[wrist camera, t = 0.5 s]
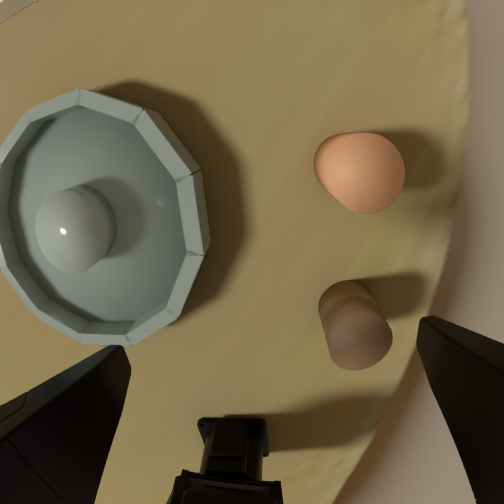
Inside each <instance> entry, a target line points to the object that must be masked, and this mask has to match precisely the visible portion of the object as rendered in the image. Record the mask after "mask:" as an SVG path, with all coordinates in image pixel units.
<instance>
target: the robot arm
mask: <svg viewBox="0 0 504 504" xmlns="http://www.w3.org/2000/svg"><path fill="white" fill-rule="evenodd" d="M416 344H417V349H418V352H419V354H420V357H421V360H422V363H423V366H424V369H425V372H426V375H427V378H428V381H429V384H430V387H431V389H432V391H433V393H434V396H435V398H436V400H437V402H438V405H439V407H440V409H441V411H442V414H443V416H444V418H445V420H446V423H447V425H448V428H449V430H450V432H451V435H452V437H453V440H454V442H455V445H456V447H457V450H458V452H459V455H460V458H461V460H462V462H463V465H464V468H465V471H466V474H467V476H468V479H469V482H470V485H471V488H472V491H473V494H474V497H475V499H476V504H504V344H503V343H500V342H498V341H495V340H493V339H491V338H488V337H486V336H483V335H481V334H478V333H476V332H473V331H471V330H468V329H466V328H464V327H461V326H459V325H456V324H454V323H451V322H449V321H446V320H444V319H441V318H439V317H436V316H433V315H431V316H426V317H422V318H421V319H420V322H419V328H418V334H417V341H416ZM130 376H131V365H130V363H129V360H128V357H127V355H126V352H125V350H124V348H123V346H121V345H108V346H107V347H105V348H103V349H101V350H100V351H98V352H96V353H94V354H93V355H91V356H89V357H87V358H86V359H84V360H82V361H80V362H79V363H77V364H75V365H73V366H72V367H70V368H68V369H66V370H64V371H63V372H61V373H59V374H57V375H56V376H54V377H52V378H50V379H48V380H47V381H45V382H43V383H41V384H40V385H38V386H36V387H34V388H32V389H31V390H29V391H28V392H25V393H23V394H22V395H20V396H18V397H16V398H14V399H12V400H10V401H9V402H7V403H5V404H3V405H1V406H0V504H94V502H95V499H96V495H97V491H98V488H99V484H100V481H101V478H102V474H103V471H104V467H105V464H106V461H107V458H108V454H109V451H110V448H111V445H112V442H113V439H114V436H115V432H116V429H117V426H118V423H119V420H120V417H121V414H122V411H123V407H124V402H125V398H126V393H127V389H128V385H129V380H130ZM197 425H198V428H199V431H200V434H201V437H202V439H203V442H204V445H205V446H204V452H203V457H202V462H201V467H200V473H195V472H190V471H189V470H184V469H183V470H182V473H181V476H177V477H176V478H175V482H174V486H173V490H172V492H171V495H170V497H169V499H168V501H167V503H166V504H283V497H282V489H281V481H262V461H263V457H267V456H269V449H268V441H267V432H266V424H265V420H263V419H199V420H198V423H197Z"/></svg>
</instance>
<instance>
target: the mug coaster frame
mask: <svg viewBox="0 0 504 504" xmlns="http://www.w3.org/2000/svg"><path fill="white" fill-rule="evenodd" d="M35 1H37V0H0V24H1V23H2V22H3V21H5V20H6V19H8V18H9V17H11V16H12V15H14V14H16V13H17V12H19V11H20V10H22V9H24V8H25V7H27V6H29V5H30V4H32V3H34V2H35Z"/></svg>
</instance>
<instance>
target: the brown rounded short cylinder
mask: <svg viewBox="0 0 504 504" xmlns="http://www.w3.org/2000/svg"><path fill="white" fill-rule="evenodd" d="M319 314H320V318H321V321H322V325H323V329H324V333H325V337H326V340H327V344H328V348H329V352H330V356H331V358H332V360H333V362H334V363H335V364H336V365H337V366H339V367H341V368H343V369H347V370H361V369H365V368H368V367H371V366H373V365H375V364H376V363H378V362H379V361H380V360H381V359H382V358H384V356H385V355H386V354H387V353H388V351H389V349H390V347H391V345H392V339H393V336H392V331H391V329H390V327H389V325H388V323H387V321H386V320H385V318H384V316H383V315H382V313H381V311H380V309H379V308H378V306H377V304H376V303H375V301H374V299H373V297H372V296H371V294H370V292H369V291H368V289H367V288H366V287H365V286H364V285H363V284H361V283H359V282H357V281H352V280H345V281H341V282H338V283H335V284H333V285H332V286H330V287H329V288H328V289H327V290H326V291H325V292H324V293H323V295H322V296H321V298H320V301H319Z"/></svg>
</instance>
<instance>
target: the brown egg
mask: <svg viewBox="0 0 504 504" xmlns="http://www.w3.org/2000/svg"><path fill="white" fill-rule="evenodd" d="M314 171H315V175H316V177H317V179H318V181H319V182H320V184H321V185H322V186H323V187H324V188H325V189H326V190H327V191H329V192H330V193H331V194H332V195H333V196H334V197H335V198H336V199H338V200H339V201H340V202H341V203H342V204H343V205H344V206H346V207H347V208H349V209H350V210H353V211H355V212H358V213H364V214H370V213H376V212H379V211H382V210H384V209H386V208H387V207H389V206H390V205H391V204H392V203H393V202H394V201H395V200H396V199H397V198H398V196H399V194H400V193H401V191H402V188H403V185H404V180H405V167H404V162H403V159H402V157H401V154H400V153H399V151H398V149H397V148H396V147H395V146H394V144H392V143H391V142H390V141H389V140H388V139H386V138H384V137H383V136H380V135H378V134H374V133H343V134H336V135H333V136H330V137H329V138H327V139H326V140H324V141H323V142H322V143H321V144H320V146H319V147H318V149H317V151H316V153H315V157H314Z"/></svg>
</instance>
